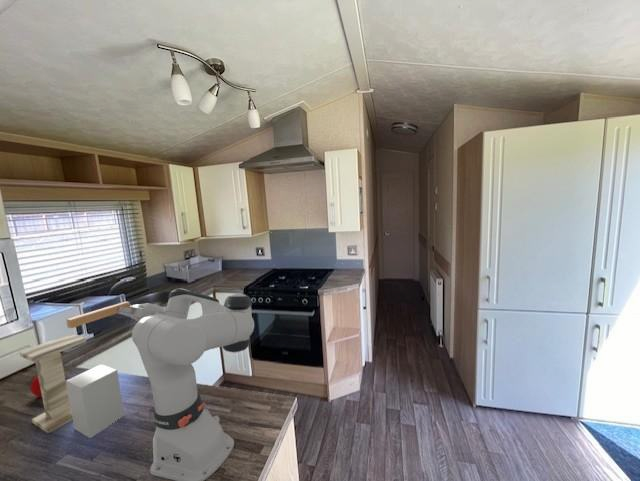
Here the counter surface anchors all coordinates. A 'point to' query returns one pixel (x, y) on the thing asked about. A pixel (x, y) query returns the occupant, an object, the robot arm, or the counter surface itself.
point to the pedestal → (95, 399)
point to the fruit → (36, 387)
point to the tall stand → (52, 381)
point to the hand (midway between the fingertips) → (115, 307)
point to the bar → (95, 315)
